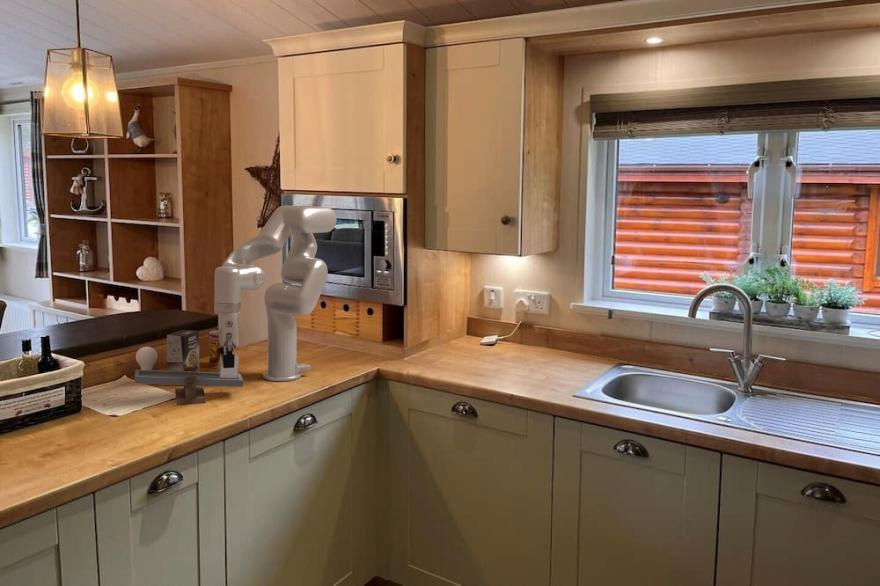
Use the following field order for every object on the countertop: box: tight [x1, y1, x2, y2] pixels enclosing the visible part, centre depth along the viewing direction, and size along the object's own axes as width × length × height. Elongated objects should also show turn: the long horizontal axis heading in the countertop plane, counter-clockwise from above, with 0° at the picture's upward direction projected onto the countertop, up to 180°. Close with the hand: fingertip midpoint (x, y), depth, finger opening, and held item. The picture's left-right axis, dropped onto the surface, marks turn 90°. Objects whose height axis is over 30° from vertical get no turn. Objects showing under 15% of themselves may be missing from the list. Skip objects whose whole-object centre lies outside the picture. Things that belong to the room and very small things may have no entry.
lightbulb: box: [135, 346, 158, 370], centre depth 227 cm, size 6×6×11 cm
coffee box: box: [166, 329, 200, 387], centre depth 227 cm, size 9×6×16 cm
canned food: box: [208, 329, 221, 369], centre depth 247 cm, size 8×8×12 cm
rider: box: [217, 354, 240, 379], centre depth 214 cm, size 5×5×7 cm
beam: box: [133, 369, 244, 388], centre depth 210 cm, size 30×8×2 cm, turn 113°
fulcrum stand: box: [174, 367, 207, 406], centre depth 210 cm, size 8×13×8 cm, turn 22°
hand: (227, 363), depth 213 cm, fingers open, 9 cm apart
